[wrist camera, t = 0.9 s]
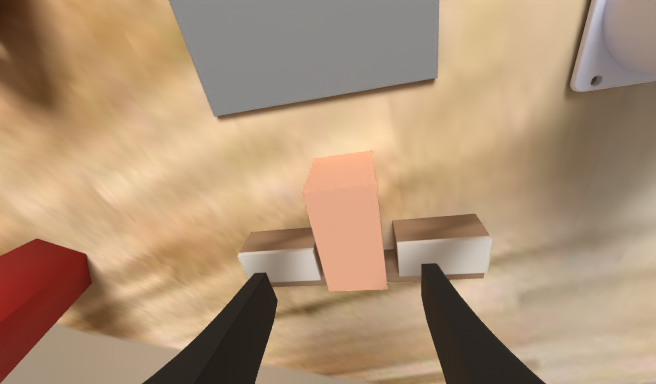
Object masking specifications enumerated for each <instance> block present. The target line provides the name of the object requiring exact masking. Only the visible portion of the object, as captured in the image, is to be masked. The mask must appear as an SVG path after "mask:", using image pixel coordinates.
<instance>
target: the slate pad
mask: <svg viewBox="0 0 656 384" xmlns="http://www.w3.org/2000/svg"><path fill="white" fill-rule="evenodd" d="M169 2H170V5H171V7H172V10H173V12H174V15H175V17H176V20H177V22H178V25H179V28H180V30H181V33H182V35H183V38H184V40H185V43H186V46H187V48H188V51H189V53H190V56H191V58H192V61H193V64H194V66H195V69H196V71H197V74H198V76H199V79H200V81H201V84H202V87H203V89H204V92H205V94H206V97H207V99H208V102H209V105H210V107H211V110H212V112H213V115H214V116H220V115H226V114H232V113H237V112H243V111H249V110H255V109H260V108H266V107H272V106H278V105H283V104H289V103H295V102H301V101H306V100H312V99H318V98H324V97H329V96H335V95H341V94H347V93H352V92H358V91H364V90H370V89H375V88H381V87H387V86H393V85H398V84H404V83H410V82H416V81H421V80H427V79H433V78H437V74H438V31H439V0H169Z"/></svg>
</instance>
